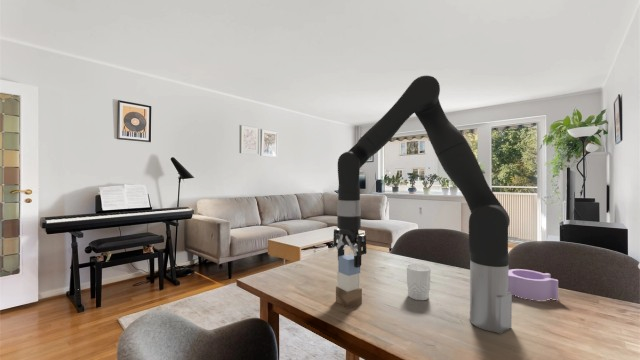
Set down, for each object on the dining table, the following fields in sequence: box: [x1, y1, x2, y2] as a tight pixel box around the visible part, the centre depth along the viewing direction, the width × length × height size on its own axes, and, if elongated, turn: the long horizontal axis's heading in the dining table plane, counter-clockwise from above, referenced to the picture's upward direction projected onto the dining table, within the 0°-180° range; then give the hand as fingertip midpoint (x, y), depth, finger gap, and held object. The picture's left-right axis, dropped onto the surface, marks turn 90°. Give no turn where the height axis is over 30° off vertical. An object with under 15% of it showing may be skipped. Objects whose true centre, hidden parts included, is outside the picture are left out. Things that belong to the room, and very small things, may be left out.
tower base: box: [335, 285, 363, 309], centre depth 96 cm, size 6×6×5 cm
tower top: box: [337, 271, 360, 292], centre depth 96 cm, size 5×5×5 cm
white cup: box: [406, 263, 432, 301], centre depth 101 cm, size 8×8×10 cm
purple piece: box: [508, 268, 559, 300], centre depth 104 cm, size 20×12×7 cm, turn 70°
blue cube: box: [337, 253, 361, 276], centre depth 96 cm, size 5×5×5 cm
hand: (348, 263), depth 96 cm, fingers open, 8 cm apart
